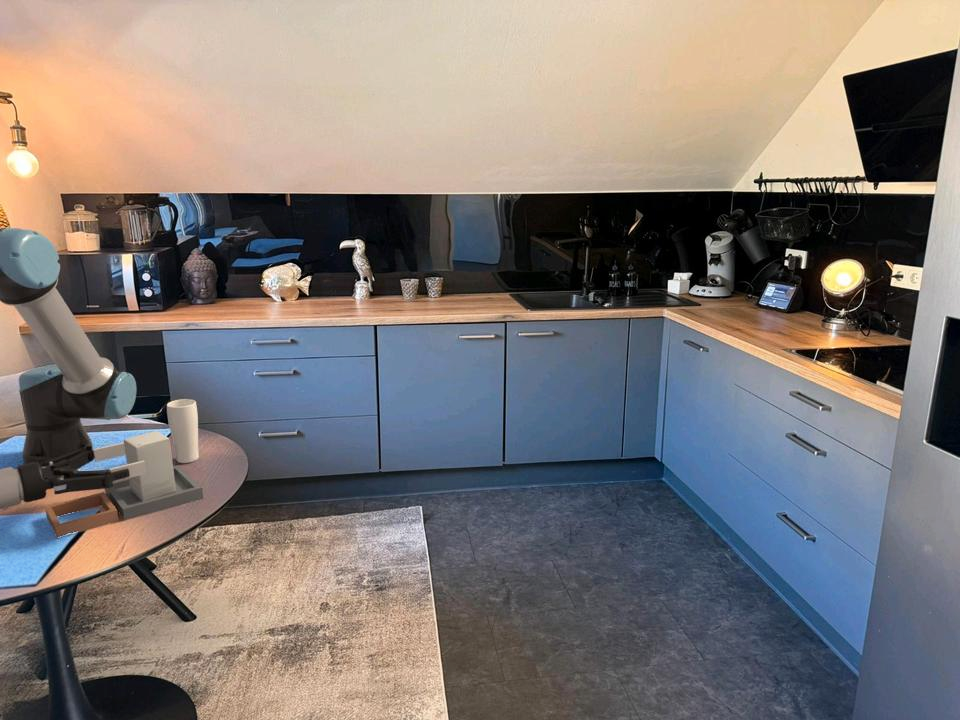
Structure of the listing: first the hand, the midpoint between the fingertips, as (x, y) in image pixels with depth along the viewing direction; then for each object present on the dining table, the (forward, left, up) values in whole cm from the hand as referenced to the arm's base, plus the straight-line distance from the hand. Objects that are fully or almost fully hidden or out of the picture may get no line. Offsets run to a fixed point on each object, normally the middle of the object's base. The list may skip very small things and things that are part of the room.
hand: (135, 457), depth 147 cm
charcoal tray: (0, +3, -10) cm, 10 cm away
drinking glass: (-16, +15, -10) cm, 25 cm away
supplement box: (0, +3, -9) cm, 10 cm away
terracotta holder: (+2, -12, -10) cm, 16 cm away
